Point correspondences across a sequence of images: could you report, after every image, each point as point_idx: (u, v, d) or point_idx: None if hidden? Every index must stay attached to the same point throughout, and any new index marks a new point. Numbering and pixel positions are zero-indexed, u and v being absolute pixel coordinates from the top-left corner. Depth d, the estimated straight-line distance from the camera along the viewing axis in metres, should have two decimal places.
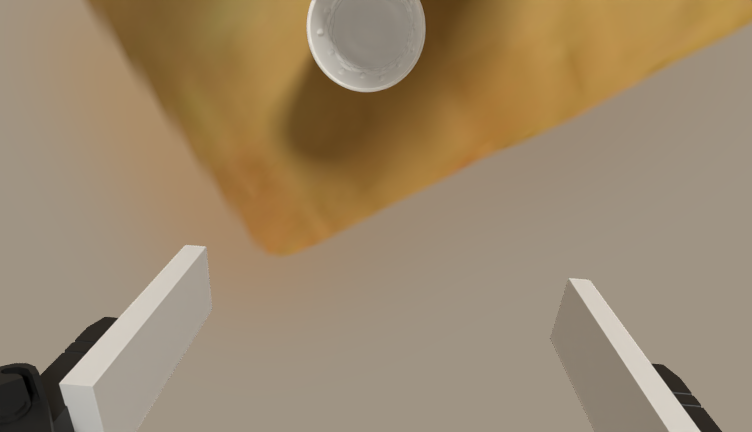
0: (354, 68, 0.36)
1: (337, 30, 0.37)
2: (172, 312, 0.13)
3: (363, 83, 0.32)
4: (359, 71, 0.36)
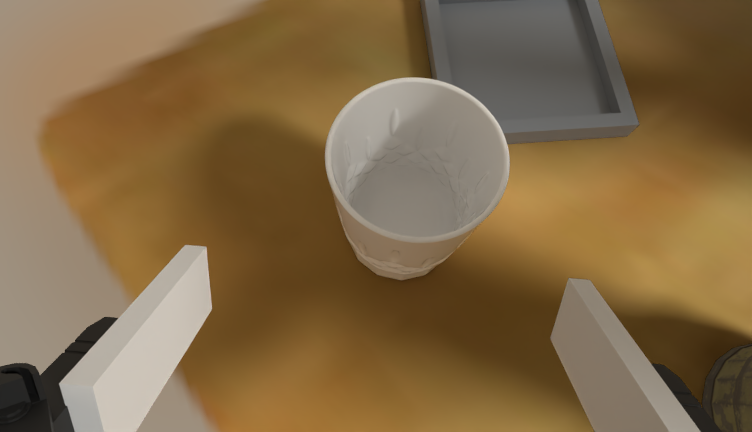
0: (349, 187, 0.24)
1: (391, 173, 0.27)
2: (172, 312, 0.14)
3: (335, 175, 0.20)
4: (346, 194, 0.24)
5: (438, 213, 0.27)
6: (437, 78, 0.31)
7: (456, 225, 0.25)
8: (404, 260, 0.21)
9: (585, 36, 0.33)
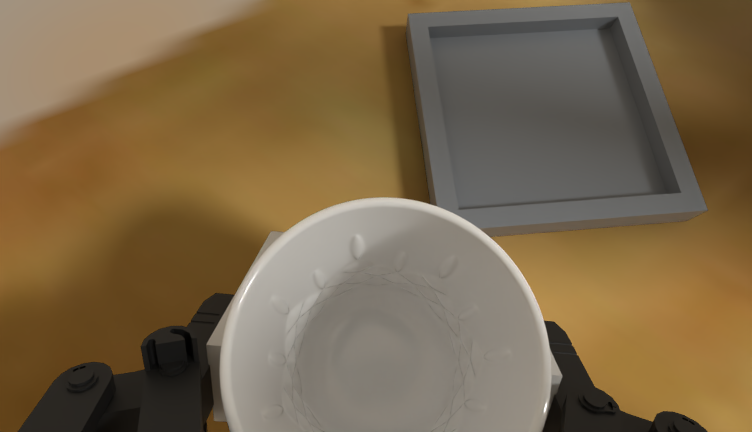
0: (292, 337, 0.16)
1: (361, 294, 0.19)
2: None
3: (250, 365, 0.12)
4: (286, 350, 0.16)
5: (429, 354, 0.18)
6: (428, 144, 0.22)
7: (455, 384, 0.17)
8: None
9: (625, 81, 0.25)
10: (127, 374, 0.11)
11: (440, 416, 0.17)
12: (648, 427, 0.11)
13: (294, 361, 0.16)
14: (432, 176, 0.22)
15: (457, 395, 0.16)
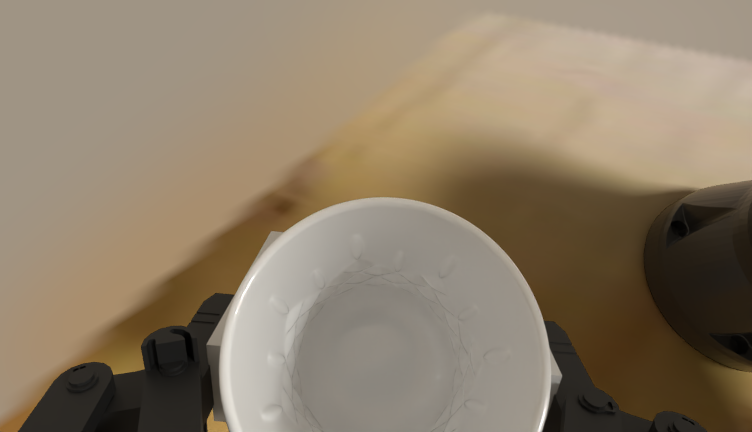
0: (291, 337, 0.16)
1: (361, 294, 0.19)
2: None
3: (250, 365, 0.12)
4: (286, 350, 0.16)
5: (429, 354, 0.18)
6: None
7: (455, 384, 0.17)
8: None
9: None
10: (127, 374, 0.11)
11: (440, 416, 0.17)
12: (648, 427, 0.11)
13: (294, 361, 0.16)
14: None
15: (457, 395, 0.16)
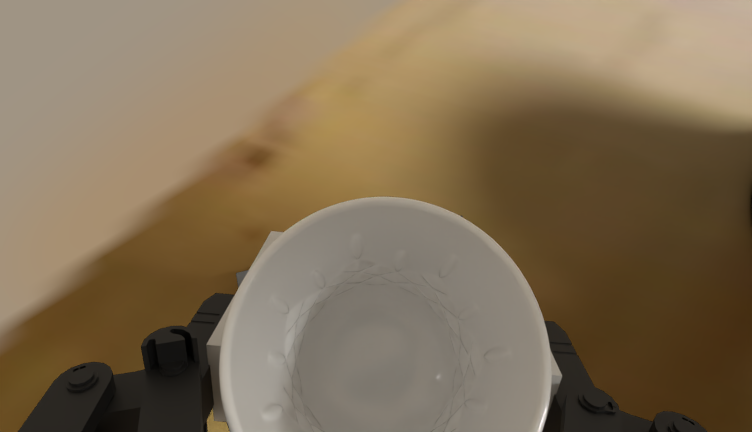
0: (291, 337, 0.16)
1: (361, 293, 0.19)
2: None
3: (250, 364, 0.12)
4: (286, 349, 0.16)
5: (429, 354, 0.18)
6: None
7: (455, 384, 0.17)
8: None
9: None
10: (127, 374, 0.11)
11: (440, 416, 0.17)
12: (648, 427, 0.11)
13: (294, 361, 0.16)
14: None
15: (457, 395, 0.16)
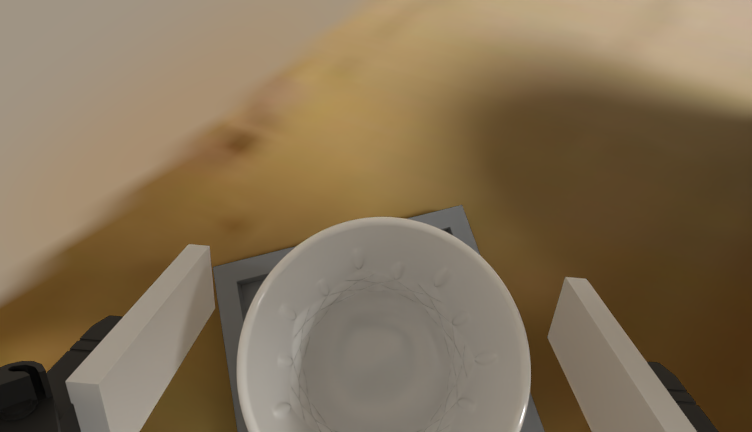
0: (298, 340, 0.17)
1: (362, 299, 0.20)
2: (176, 311, 0.14)
3: (263, 367, 0.13)
4: (293, 352, 0.17)
5: (425, 356, 0.20)
6: None
7: (449, 384, 0.18)
8: None
9: None
10: None
11: (435, 413, 0.18)
12: None
13: (300, 362, 0.18)
14: None
15: (451, 394, 0.17)
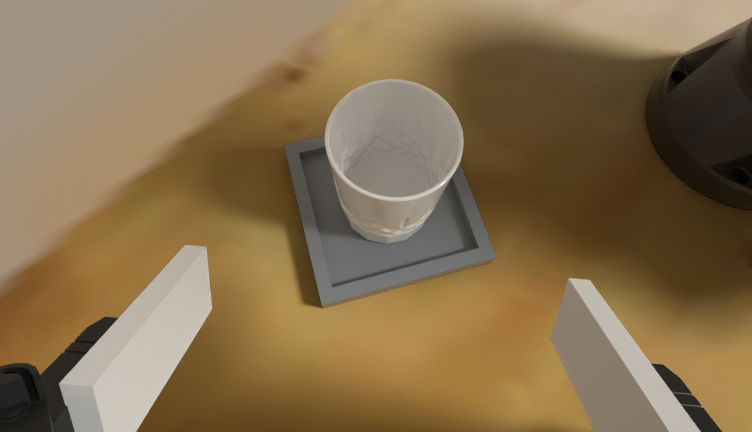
0: (343, 167, 0.30)
1: (378, 157, 0.33)
2: (172, 312, 0.13)
3: (333, 154, 0.26)
4: None
5: (416, 189, 0.33)
6: (307, 243, 0.32)
7: None
8: (386, 220, 0.27)
9: None
10: None
11: None
12: None
13: None
14: None
15: None
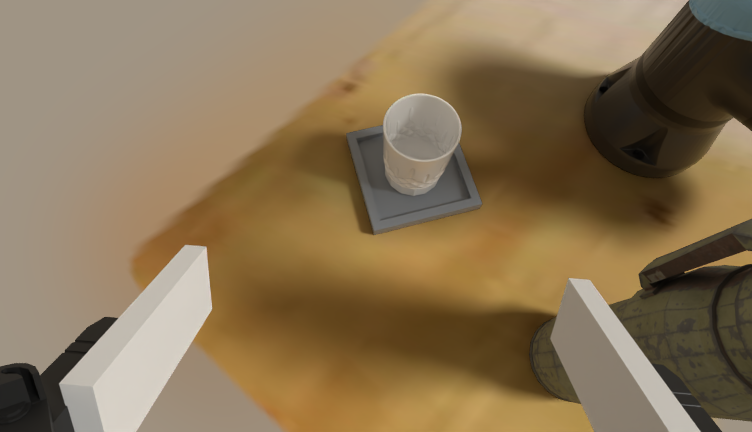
0: None
1: (408, 141, 0.53)
2: (172, 312, 0.14)
3: None
4: None
5: None
6: (364, 194, 0.52)
7: None
8: (416, 175, 0.46)
9: None
10: None
11: None
12: None
13: None
14: (367, 208, 0.51)
15: None
